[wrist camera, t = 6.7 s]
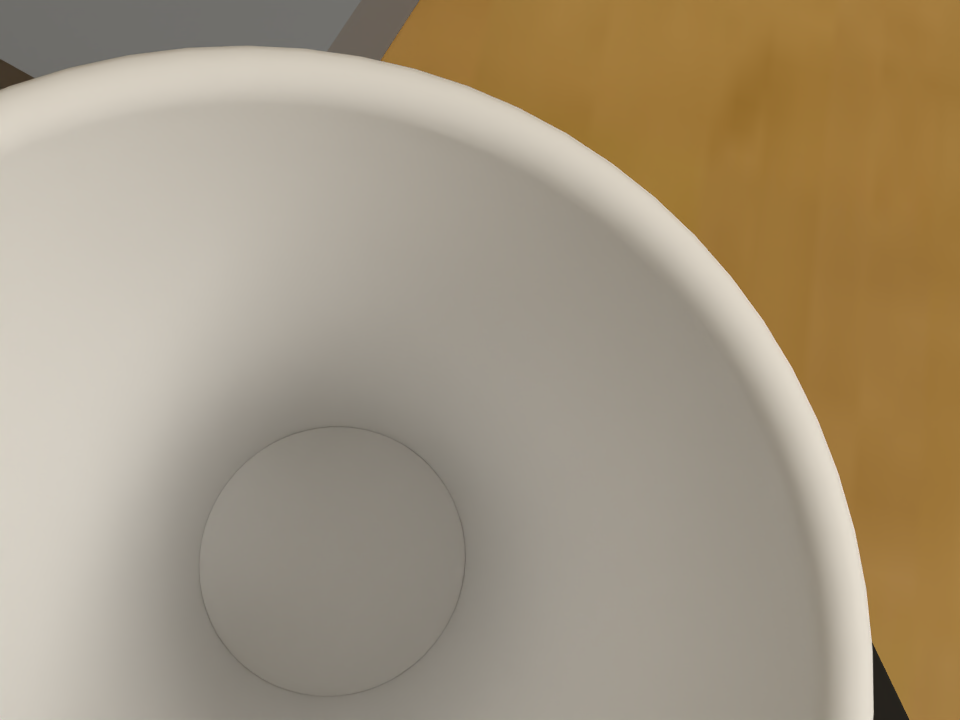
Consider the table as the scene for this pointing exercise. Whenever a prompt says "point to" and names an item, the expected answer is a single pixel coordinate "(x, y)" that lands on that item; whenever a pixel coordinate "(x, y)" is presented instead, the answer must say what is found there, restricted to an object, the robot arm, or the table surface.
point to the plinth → (185, 29)
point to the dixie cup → (388, 418)
